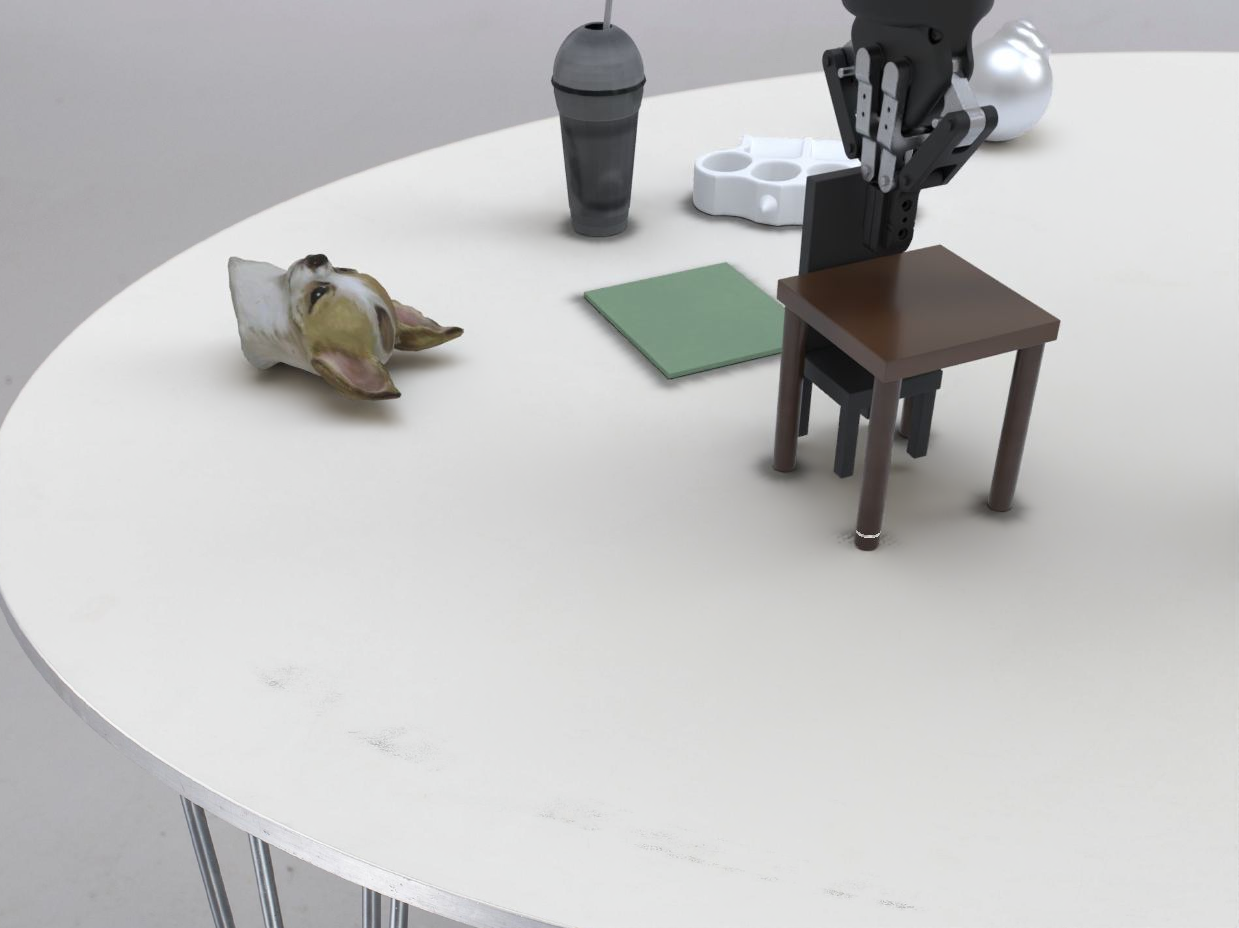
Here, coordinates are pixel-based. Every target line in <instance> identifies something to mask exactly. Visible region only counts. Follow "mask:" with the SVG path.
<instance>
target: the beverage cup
mask: <svg viewBox="0 0 1239 928" xmlns="http://www.w3.org/2000/svg"><path fill="white" fill-rule="evenodd" d="M613 1H614V0H605V3H604V5H605V6H604V14H603V21H592V22H588V23H584V24H582V25H580V26H578V27H576V28H574V29H573V30H572V31H571V32H570V33H569V34H568V35H567V36H566V37H565V39H564V40H563V41H562V43H561V44H560V46H559V48H558V49H557V51H556V52H557V53H556V55H555V58H554V62H553V67H552V76H551V79H550V83H551V85H552V87H553V94H554V99H555V104H556V107H557V112H558V115H559V125H560V135H561V144H562V153H563V163H564V171H565V172H564V173H565V181H566V189H567V200H568V207H569V211H570V217H571V227H572V230H574V231H575V232H577V233H578V234H581V235H584V236H589V237H609V236H614V235H617V234H620V233H623V232H624V231H625V230H626V229H627V227H628V218H629V212H630V208H631V201H632V200H631V198H632V187H633V179H634V177H633V176H634V168H635V167H634V166H635V157H636V155H635V154H636V145H637V135H638V125H639V124H638V123H639V112H640V109H641V107H642V101H643V96H644V91H645V84H647V83H646V82H647V77H646V74H645V66H644V62H643V61H644V60H643V58H642V55H641V52H640V49H639V48H638V46H637V45H636V43H635V41H634V40H633V38H632V37H631V35H629V33H628V32H626V31H625V30H624V29H622V28H620V27H619V26H617V25H615V24H613V23H611V19H612V10H613Z"/></svg>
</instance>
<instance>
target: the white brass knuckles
mask: <svg viewBox="0 0 1239 928" xmlns="http://www.w3.org/2000/svg"><path fill="white" fill-rule="evenodd" d="M858 166H861V162H860V161H859V160H858V158H857V159H848V158H847V156H846V154H845V151H844V147H843V143H842V140H829V139H828V140H827V139H813V137H810V136H805V137H803V138H791V137H790V138H789V137H788V138H787V137H768V136H766V137H765V136H753V135H752V134H745V133H744V134H743V135H741V136H740V137H739V143H738V146H736V147H734V148H731V149H720V150H715V151H714V150H713V151H710V152H707V153H703V154H701V155H700V156H698V157H697V158H696V159H695V161H694V165H693V184H692V185H693V186H692V187H693V188H692V189H693V190H692V202H693V205H694V206H695V208H696V209H698V210H699V211H701V212H702V213H704V214H707V215H710V216H732V217H733V216H734V217H740V218H744V219H748V220H750V221H751V222H755V223H757V224H764V225H771V226H776V227H779V226H780V227H781V226H789V225H796V226H797V225H798V226H799V225H800V226H803V214H804V202H805V190H806V178H807V176H812V175H817V174H822V173H827V172H832V171H838V170H843V169H848V168H853V167H858Z"/></svg>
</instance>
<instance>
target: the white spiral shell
mask: <svg viewBox="0 0 1239 928" xmlns="http://www.w3.org/2000/svg"><path fill="white" fill-rule="evenodd" d="M972 50H973V57H974V70H973V74H972V77H971V79H970V81H969V85H970V87H971V89H972V92H973V94H974V96H975V98H976V101H977V103H978V105H979V107H982V106H988V105H992V106H994V107H995V108H996V110H997V112H998V124H997V127H996V128H995V129H994V131H993V132H992V133H991V134H990V135H989V136H988V138H987V139H986V140H985V141H988V142H1005V141H1010V140H1013V139H1015V138H1016V139H1017V138H1018V137H1020V136H1022V135H1024V134H1026V133H1027V132H1029V131H1030V130H1031V129H1032V128H1033V127H1035V126H1036V125H1037V124H1038V123H1039V121H1040V120H1041V119H1042V118H1043V116H1044V115H1045V113H1046V111H1047V110H1048V107H1049V105H1050V102H1051V99H1052V95H1053V91H1054V76H1053V70H1052V68H1051V65H1050V61H1049V59H1050V56H1051V54H1052V44H1051V42H1050V41H1049V40H1048V38H1046V37H1045V36H1044V34H1043V33H1042V32H1041V30H1040V29H1039V27H1038V26H1037V25H1036V24H1034V23H1033V22H1032V20H1031V19H1028V18H1017V19H1012V20H1009V21H1006V22H1005V23H1004V24H1002V25H1001V26H1000V28H998V29H997V31H995V33H994V34H993V36H992V37H989V38H987V39H984V40H982V41H981V42H979V43H978V44H976V45H974V46H972Z"/></svg>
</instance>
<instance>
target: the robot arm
mask: <svg viewBox="0 0 1239 928" xmlns="http://www.w3.org/2000/svg"><path fill="white" fill-rule="evenodd" d="M841 3H842V5H843V7H844V9H845V10H846V11H847V12H848V13H850V14H851V15H853V16H854V17H855V18H854V19H853V21H852V25H851V30H850V40H848V41H847V42H846V43H845V44H844V45H842V46H838V47H836V48H829V49H826V50H824V51H823V54H822V58H821V63H822V68H823V73H824V77H825V80H826V84H827V88H828V92H829V96H830V99H831V103H832V107H833V110H834V115H835V119H836V123H837V127H838V131H839V134H840V138H841V141H842V143H843V147H844V151H845V154H846V156H847V158H848V159H857V158H858V160H859V161H860V162H861V174H862V177H863V179H864V180H865V181H866V182H867V189H866V198H865V208H864V215H863V237H862V244H863V246H864V247H866V248H867V249H869V250H870V251H872V252H873V253H875V254H876V255H878V256H879V257H885V256H890V255H895V254H899V253H903V252H907V251H908V249H909V247H910V246H911V243H912V241H913V239H914V234H915V233H914V231H915V225H916V218H917V212H918V206H919V205H918V204H919V197H920V193H921V191H922V190H926V189H930V188H935V187H941V186H945V185H948V184H949V183H950V182H951V181H952V180H953V178H954V177H955V176H956V175H957V174H958V172H959V171H960V170H961V169H962V168H963V167H964V165H966V163H967V162H968V161H969V160H970V159H971V157H972V156H973V155H974V154H975V153H976V152H977V150H978V149H979V148H980V147H981V146H982V145H983V144H984V142H985V141H987V140H986V139H987V138H988V136H989V135H990V134H991V133H992V132H993V131H994V129H995V128H996V127H997V124H998V112H997V110H996V108H995V107H994V106H992V105H988V106H982V107H979V105H978V103H977V101H976V98H975V96H974V94H973V92H972V89H971V87H970V85H969V81H970V79H971V77H972V74H973V70H974V57H973V50H972V48H973V33H974V30H975V28H976V27H977V25H978V24H979V23H980V22H981V21H982V20H983V18H985V17H986V16H987V15H989V13H990V12H991V11H992V9H993V7H994V5H995V0H841Z"/></svg>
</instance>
